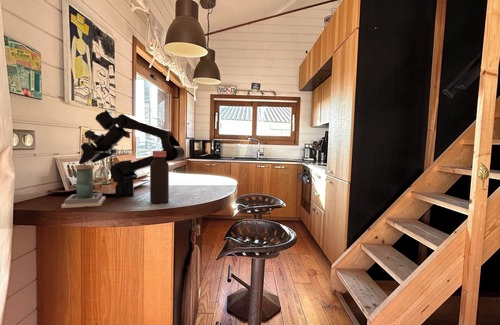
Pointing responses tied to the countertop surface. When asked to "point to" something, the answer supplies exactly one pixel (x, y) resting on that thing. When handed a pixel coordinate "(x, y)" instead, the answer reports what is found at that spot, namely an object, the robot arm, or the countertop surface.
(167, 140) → the robot arm
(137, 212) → the countertop surface
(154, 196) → the bottle
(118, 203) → the countertop surface
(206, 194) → the countertop surface
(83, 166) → the bobbin
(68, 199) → the grey flat square tray
